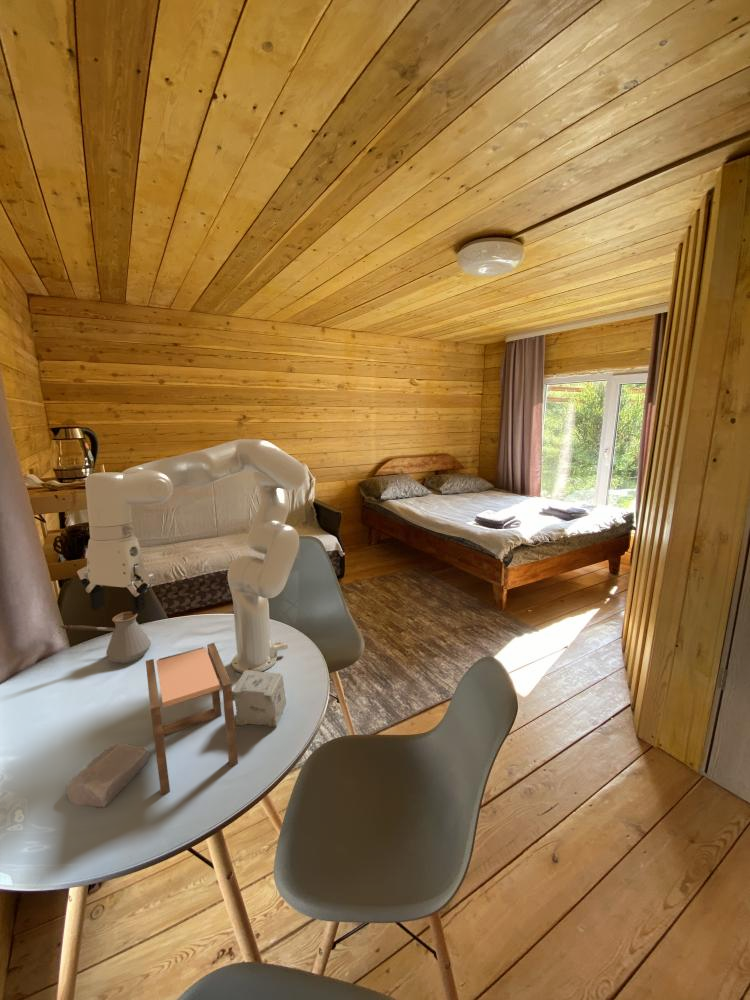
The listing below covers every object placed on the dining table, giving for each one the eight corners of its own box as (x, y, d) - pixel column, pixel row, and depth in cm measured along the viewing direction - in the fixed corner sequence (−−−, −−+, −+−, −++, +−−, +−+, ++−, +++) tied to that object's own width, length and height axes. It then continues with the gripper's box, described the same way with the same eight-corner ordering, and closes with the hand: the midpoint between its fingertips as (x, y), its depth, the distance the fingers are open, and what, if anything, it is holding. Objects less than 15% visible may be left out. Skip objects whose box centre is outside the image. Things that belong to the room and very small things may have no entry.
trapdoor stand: (220, 711, 99) (214, 642, 96) (237, 763, 84) (231, 683, 81) (154, 734, 92) (145, 660, 89) (161, 795, 77) (150, 709, 74)
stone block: (63, 811, 76) (107, 811, 74) (55, 787, 76) (100, 786, 73) (115, 762, 88) (154, 760, 85) (109, 741, 87) (148, 739, 85)
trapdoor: (204, 652, 97) (203, 642, 96) (220, 695, 81) (219, 684, 81) (156, 665, 91) (155, 654, 91) (164, 714, 76) (162, 702, 76)
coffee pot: (147, 642, 132) (141, 598, 129) (155, 657, 123) (150, 610, 120) (64, 667, 118) (56, 619, 115) (67, 686, 109) (58, 634, 107)
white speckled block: (232, 729, 94) (229, 688, 92) (249, 704, 102) (246, 666, 100) (273, 733, 92) (271, 692, 90) (287, 708, 100) (285, 669, 98)
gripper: (161, 530, 88) (166, 606, 91) (90, 526, 91) (96, 600, 93) (136, 538, 81) (142, 621, 83) (59, 534, 83) (67, 614, 86)
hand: (118, 610), depth 88 cm, fingers open, 9 cm apart
